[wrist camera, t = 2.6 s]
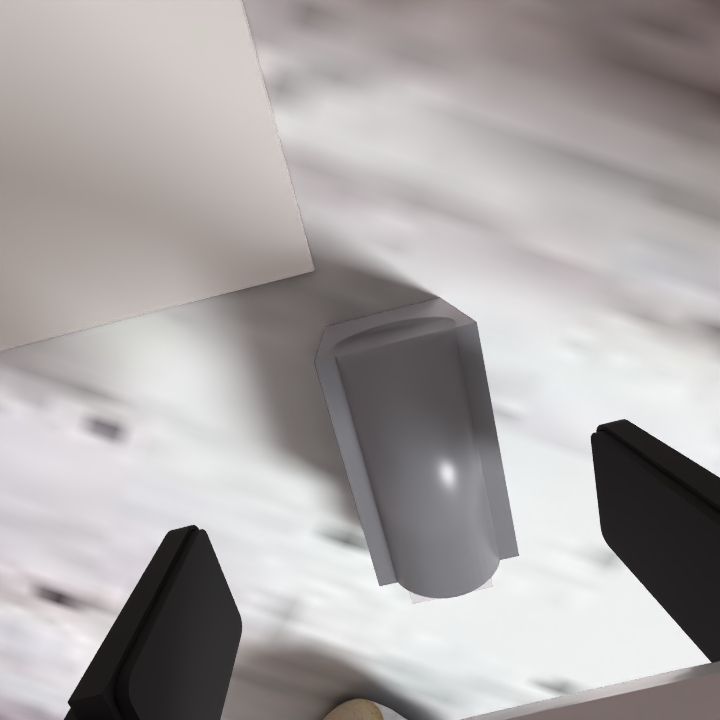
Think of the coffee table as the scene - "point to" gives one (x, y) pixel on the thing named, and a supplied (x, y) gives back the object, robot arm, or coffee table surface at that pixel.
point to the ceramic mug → (362, 711)
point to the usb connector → (419, 446)
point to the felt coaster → (135, 163)
